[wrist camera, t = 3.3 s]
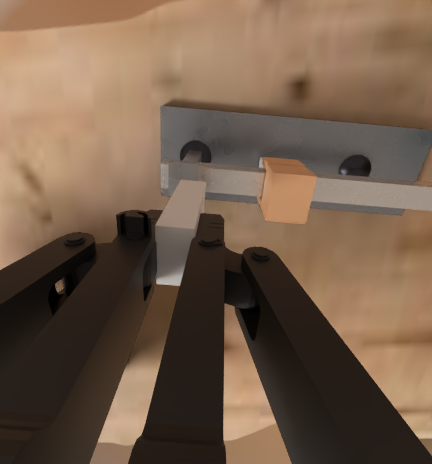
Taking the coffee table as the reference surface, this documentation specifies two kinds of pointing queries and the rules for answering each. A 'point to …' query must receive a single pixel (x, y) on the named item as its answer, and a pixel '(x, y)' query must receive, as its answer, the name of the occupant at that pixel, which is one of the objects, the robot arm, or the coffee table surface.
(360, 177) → the bar
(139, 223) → the robot arm
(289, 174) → the block
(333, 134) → the flange plate
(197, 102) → the coffee table surface
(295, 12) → the coffee table surface
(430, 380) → the coffee table surface
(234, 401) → the coffee table surface
